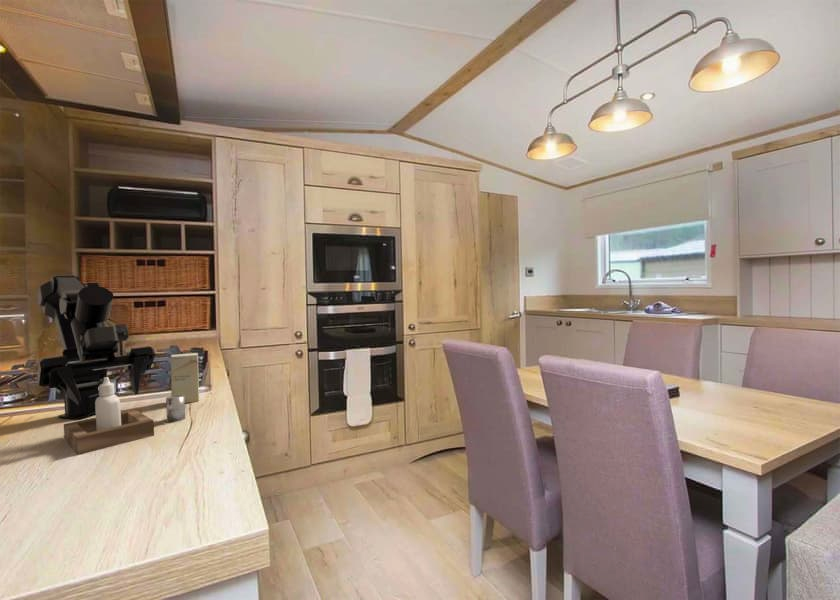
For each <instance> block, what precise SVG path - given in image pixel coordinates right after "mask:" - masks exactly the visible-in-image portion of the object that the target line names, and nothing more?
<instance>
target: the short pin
mask: <svg viewBox="0 0 840 600" xmlns="http://www.w3.org/2000/svg"><path fill="white" fill-rule="evenodd" d="M165 406H166V409H165V410H166V422H168V423H174V422H175V423H177V422H180V421H183V420H185V419H186V405H185V397H184V395H175V396H172V395H171V396H167V397H166V398H165Z"/></svg>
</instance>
